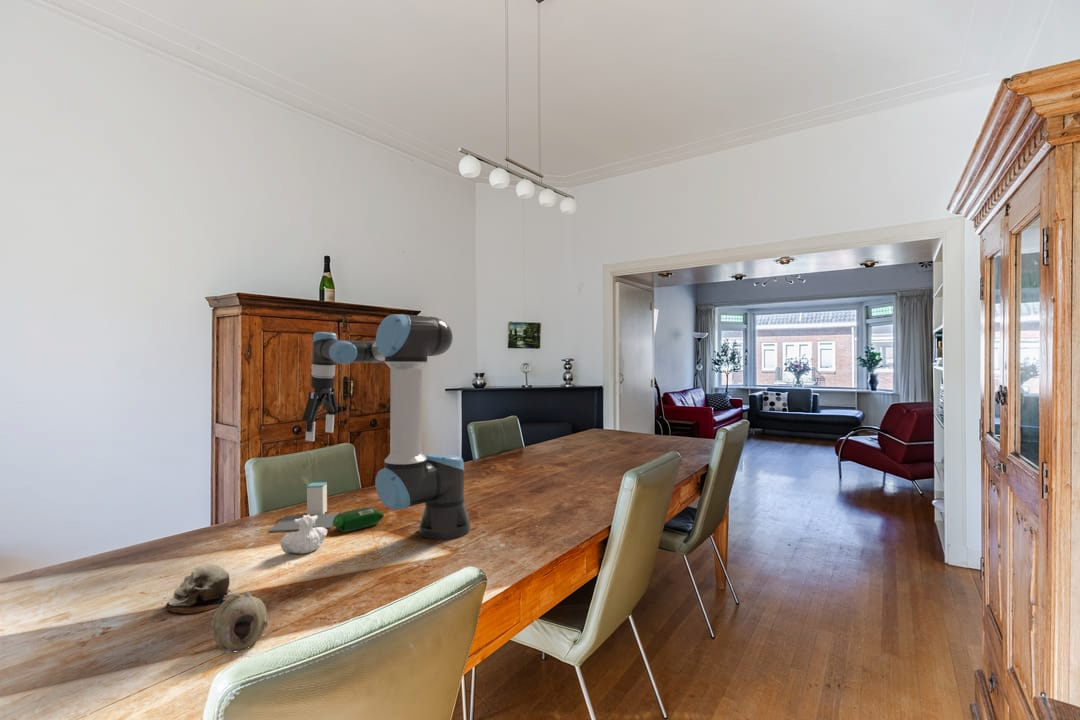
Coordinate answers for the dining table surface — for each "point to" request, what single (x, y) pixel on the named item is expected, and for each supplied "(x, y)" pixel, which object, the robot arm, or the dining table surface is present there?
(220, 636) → the grey-brown rounded hollow piece
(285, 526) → the rubber mat
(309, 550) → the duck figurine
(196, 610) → the skull
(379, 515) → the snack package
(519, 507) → the dining table surface
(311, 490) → the tall block
